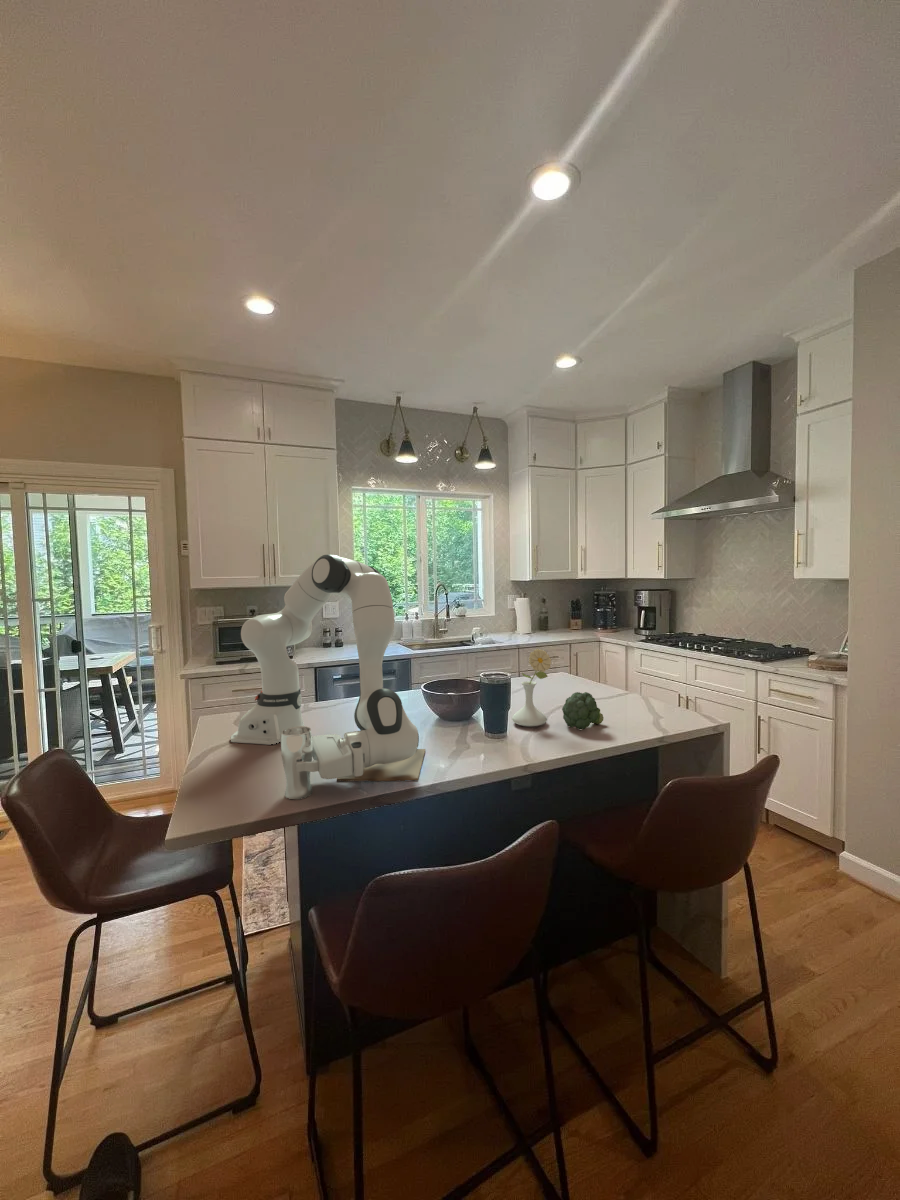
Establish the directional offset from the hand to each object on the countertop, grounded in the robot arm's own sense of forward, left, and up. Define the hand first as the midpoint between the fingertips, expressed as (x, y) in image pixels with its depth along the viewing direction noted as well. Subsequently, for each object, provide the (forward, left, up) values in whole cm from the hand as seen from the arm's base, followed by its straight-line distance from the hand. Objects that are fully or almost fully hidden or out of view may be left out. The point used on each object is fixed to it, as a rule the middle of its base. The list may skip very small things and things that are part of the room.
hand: (293, 759), depth 114 cm
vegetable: (+77, +48, -9) cm, 91 cm away
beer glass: (+1, 0, -8) cm, 8 cm away
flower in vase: (+61, +51, -8) cm, 80 cm away
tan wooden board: (+18, +17, -8) cm, 26 cm away
